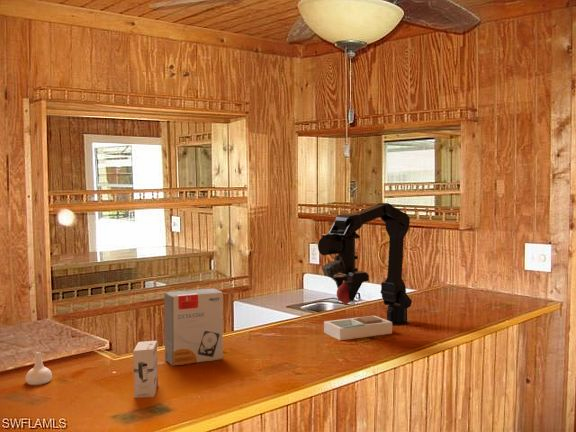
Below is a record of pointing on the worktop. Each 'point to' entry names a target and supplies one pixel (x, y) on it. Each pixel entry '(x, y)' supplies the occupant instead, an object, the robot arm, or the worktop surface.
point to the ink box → (145, 369)
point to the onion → (343, 293)
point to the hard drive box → (193, 326)
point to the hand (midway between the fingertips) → (346, 299)
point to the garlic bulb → (38, 373)
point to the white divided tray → (357, 327)
